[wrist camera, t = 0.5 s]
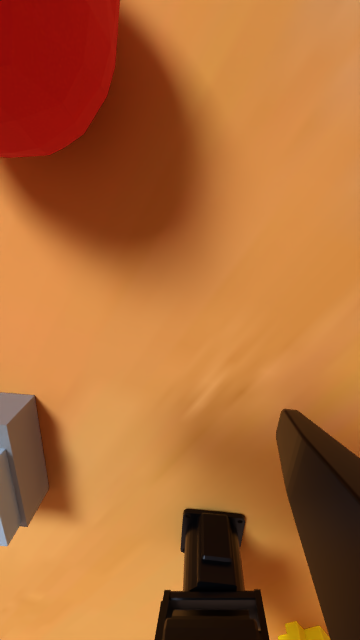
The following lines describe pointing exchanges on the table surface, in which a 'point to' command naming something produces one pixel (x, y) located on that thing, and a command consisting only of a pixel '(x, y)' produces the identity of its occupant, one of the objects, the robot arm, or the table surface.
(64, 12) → the tomato
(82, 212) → the table surface
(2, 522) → the cover
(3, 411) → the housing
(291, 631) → the yellow crystal cluster
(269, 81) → the table surface
